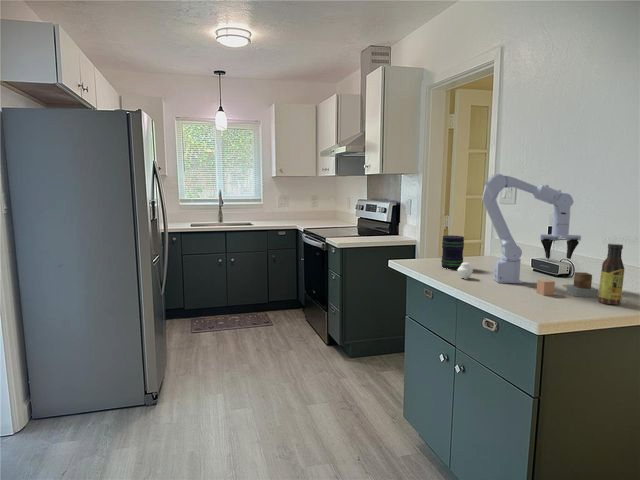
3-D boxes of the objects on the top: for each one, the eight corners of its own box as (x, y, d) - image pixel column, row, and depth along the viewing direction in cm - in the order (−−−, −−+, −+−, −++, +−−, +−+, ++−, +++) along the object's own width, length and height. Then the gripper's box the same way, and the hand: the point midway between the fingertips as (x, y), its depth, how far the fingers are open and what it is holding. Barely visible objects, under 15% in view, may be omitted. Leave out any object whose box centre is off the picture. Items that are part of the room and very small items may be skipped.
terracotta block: (543, 295, 150) (544, 281, 149) (536, 292, 154) (537, 279, 153) (553, 295, 150) (554, 281, 149) (546, 292, 154) (547, 279, 153)
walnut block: (579, 288, 149) (580, 274, 149) (573, 285, 153) (574, 272, 153) (591, 288, 149) (592, 274, 148) (585, 286, 153) (586, 272, 152)
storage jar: (465, 270, 194) (467, 238, 192) (444, 270, 194) (445, 238, 192) (459, 266, 204) (460, 235, 202) (438, 266, 204) (439, 235, 202)
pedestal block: (576, 297, 149) (576, 289, 149) (566, 292, 156) (567, 284, 155) (597, 297, 148) (597, 289, 148) (586, 292, 155) (587, 284, 155)
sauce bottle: (613, 306, 136) (619, 245, 134) (593, 301, 142) (599, 243, 139) (625, 304, 139) (631, 244, 137) (605, 299, 145) (610, 242, 142)
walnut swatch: (568, 288, 159) (568, 287, 159) (562, 285, 164) (562, 284, 164) (582, 289, 159) (582, 288, 159) (576, 286, 163) (576, 285, 163)
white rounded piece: (467, 280, 173) (468, 263, 172) (454, 278, 177) (455, 261, 176) (475, 278, 177) (476, 262, 176) (462, 276, 181) (462, 260, 180)
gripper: (544, 224, 161) (542, 259, 163) (585, 225, 159) (582, 260, 161) (538, 222, 168) (535, 256, 170) (577, 223, 166) (574, 257, 167)
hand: (558, 258), depth 166 cm, fingers open, 7 cm apart
